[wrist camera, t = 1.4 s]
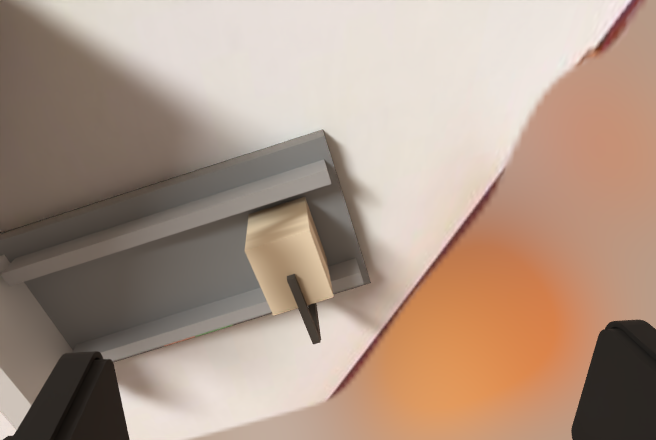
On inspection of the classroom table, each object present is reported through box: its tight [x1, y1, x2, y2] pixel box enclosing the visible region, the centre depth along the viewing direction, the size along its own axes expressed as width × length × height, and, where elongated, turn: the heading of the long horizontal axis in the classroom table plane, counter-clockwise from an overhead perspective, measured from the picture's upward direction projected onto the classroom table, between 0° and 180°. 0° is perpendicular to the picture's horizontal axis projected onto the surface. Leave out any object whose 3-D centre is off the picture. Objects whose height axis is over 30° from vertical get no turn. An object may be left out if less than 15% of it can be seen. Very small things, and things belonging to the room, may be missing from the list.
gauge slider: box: [245, 197, 334, 344], centre depth 32 cm, size 4×8×6 cm, turn 17°
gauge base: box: [0, 130, 371, 430], centre depth 32 cm, size 25×12×8 cm, turn 107°
